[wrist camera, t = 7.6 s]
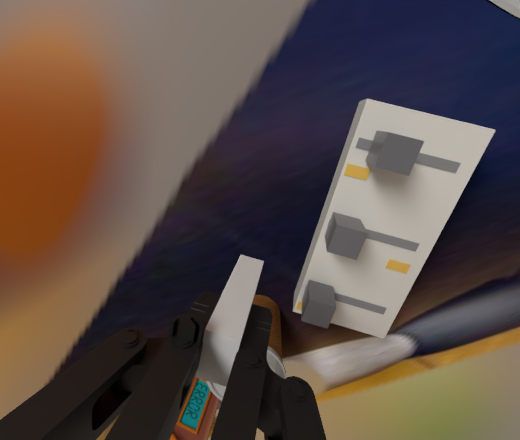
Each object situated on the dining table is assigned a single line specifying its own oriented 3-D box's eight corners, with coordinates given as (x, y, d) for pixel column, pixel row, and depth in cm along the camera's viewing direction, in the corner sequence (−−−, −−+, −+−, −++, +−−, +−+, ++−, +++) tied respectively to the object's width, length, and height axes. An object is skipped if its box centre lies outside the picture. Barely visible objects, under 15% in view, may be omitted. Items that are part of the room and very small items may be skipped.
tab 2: (360, 219, 29) (367, 233, 26) (350, 243, 31) (356, 260, 27) (333, 211, 30) (336, 224, 26) (324, 235, 31) (326, 251, 27)
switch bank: (471, 128, 29) (496, 129, 25) (376, 317, 38) (384, 339, 35) (359, 101, 30) (367, 98, 26) (294, 293, 39) (292, 311, 35)
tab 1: (333, 286, 33) (336, 307, 29) (325, 306, 34) (327, 328, 30) (309, 279, 33) (309, 299, 29) (301, 299, 34) (301, 320, 30)
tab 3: (407, 138, 26) (424, 141, 22) (394, 168, 27) (408, 176, 23) (376, 130, 26) (388, 132, 23) (365, 160, 27) (374, 167, 24)
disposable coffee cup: (279, 279, 39) (268, 342, 28) (299, 331, 41) (296, 409, 30) (220, 292, 41) (187, 355, 30) (241, 341, 44) (219, 416, 33)
